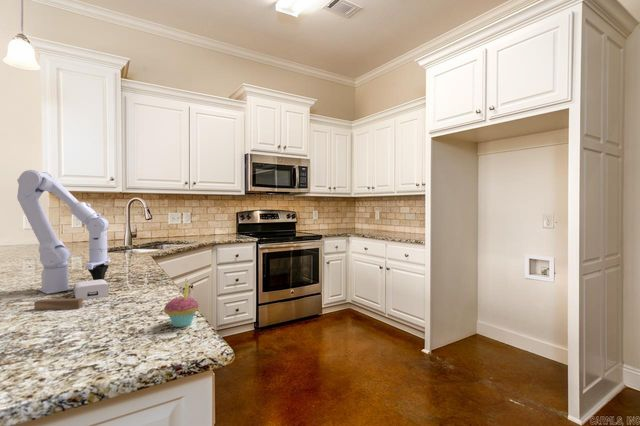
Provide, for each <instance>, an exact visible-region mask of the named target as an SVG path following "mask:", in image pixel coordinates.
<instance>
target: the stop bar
mask: <svg viewBox="0 0 640 426" xmlns="http://www.w3.org/2000/svg"><path fill="white" fill-rule="evenodd" d="M33 303H34V311H47V310H70V309H71V310H72V309H80V308H82V307H83V305H84V304H83V303H84V300H83V298H52V299H51V298H50V299H49V298H48V299H39V300H35V301H34V302H33Z"/></svg>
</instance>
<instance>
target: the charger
mask: <svg viewBox="0 0 640 426" xmlns="http://www.w3.org/2000/svg"><path fill="white" fill-rule="evenodd" d="M109 292H110V287H109V284H108V283H107V281H106V280H105V279H104V280H102V279H101V280H93V279H92V280H86V281H85V280H84V281H77V282H75V283H74V284H73V294H74V297H75V298H83V301H86V300H93V299H100V298H107V297H108V296H109Z"/></svg>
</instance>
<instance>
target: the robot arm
mask: <svg viewBox="0 0 640 426" xmlns="http://www.w3.org/2000/svg"><path fill="white" fill-rule="evenodd" d="M16 181H17V184H18V186H17V187H18V188H17V198H16V199H17V201H18V203H19V205H20V208H21V209H22V212H23V213H24V215H25V217H26V219H27V221H28V222H29V225H30V227H31V229H32V231H33V234H34V235H35V237H36V239H37V241H38V242H39V247H38V253H39V261H40V264H41V265H42V266H43V269H42V270H41V287H40V288H38V289H37V290H38V291H40V292H41V293H44V294H47V295H48V294H54V293H60V292H64V291H71V290H74V287H71V286H69V283H70V282H69V281H70V280H69V276H70V275H69V262H68V261H70V259H71V256H72V254H71V250H70V249H69V248H68V247H66V246H65V244H64V242H63V241H62V240H60V239H59V238H58V236H57V235H56V232H55V231H54V228H53V227H52V224H51V223H50V220H49V218H48V217H47V214H46V212H45V210H44V208H43V206H42V204H41V202H40V200H39V199H40V198H41V196H42V194H43V193H45V192H49V193H52V194H54V195H55V196H56V197H57V198H59V199H60V200H61V201H62V202H64V204H66V205H67V206H68V207H69V208H70V213H71V214H72V215H73V216H74V217H75V218H77V219H78V220H79V221H80V222H81V223H82V224H84V226H85V228H86V230H87V232H88V233H89V237H88V248H89V249H88V260H89V261H87V263H86V264H85V270H88V272H89V273H90V275H91V277H92V280H101V279H102V280H105V275H106V272H107V270H108V269H109V263H111V258H110V257H108V229H109V227H110V223H109V221H108V219H107V218H106V217H104V216H102V214H101V213H97V212H96V211H95V210H94V209H93V208H92V207H91V206H92V205H91V203H86V202H84V201H79V200H78V199H77V198H76V197H75V196H73V195H74V194H72V193H71V192H70V191H68V189H67V188H65V186H63V185H62V184H61V182H60V181H59V180H58V179H56V178H55V177H54V176H52V175H51V174H50V173H48V172H46V171H37V170H35V169H34V170H33V169H28V170H27V169H26V170H24V171H23V172H22V173H21V174H20V175H19V176H18V178H17V180H16Z"/></svg>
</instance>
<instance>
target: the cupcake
mask: <svg viewBox="0 0 640 426" xmlns="http://www.w3.org/2000/svg"><path fill="white" fill-rule="evenodd" d="M184 287H185V288H184V293H183V294H184V295H183V297H176V298H173V299H171V300H170V301H168V302H167V303H166V304H165V306H164V308H163V312H164V313H165V314H166V315H168V316H169V318H170V322H171V324H172V326H173V327H176V328H183V327H188V326H190V325H192V323H193V320H194V317H195V314H196V312H198V310H199V306H200V304H199V303H198V301H197V300H195V298H192V297H190V296H188V289H189V280H187V282H186V283H185V286H184Z"/></svg>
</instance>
